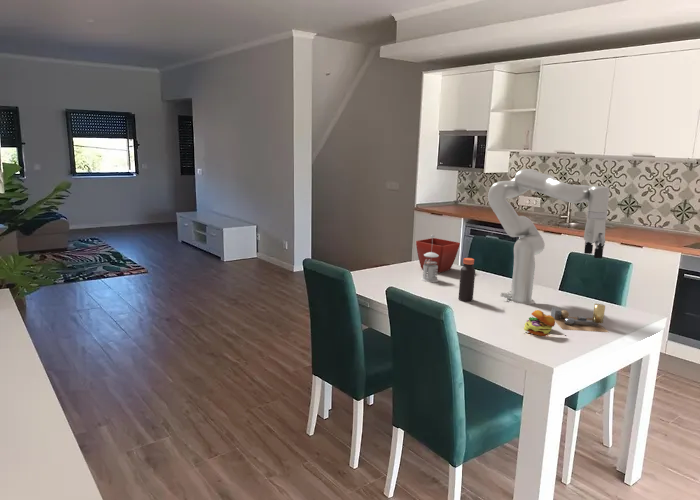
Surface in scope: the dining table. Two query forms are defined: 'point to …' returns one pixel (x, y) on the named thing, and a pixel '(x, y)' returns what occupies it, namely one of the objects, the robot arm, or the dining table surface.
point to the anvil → (556, 313)
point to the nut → (564, 314)
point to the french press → (430, 267)
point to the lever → (597, 318)
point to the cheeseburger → (539, 324)
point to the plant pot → (438, 252)
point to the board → (580, 326)
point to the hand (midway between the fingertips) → (593, 255)
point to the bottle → (467, 280)
